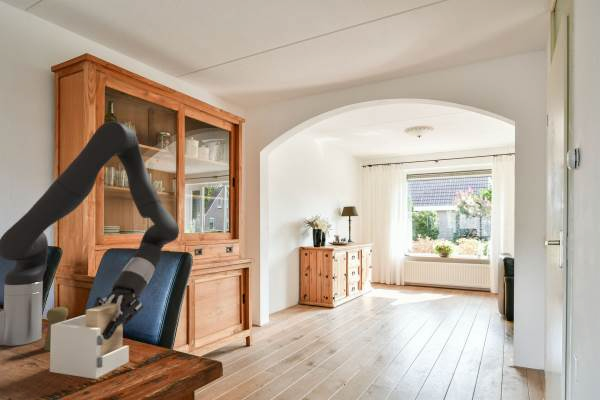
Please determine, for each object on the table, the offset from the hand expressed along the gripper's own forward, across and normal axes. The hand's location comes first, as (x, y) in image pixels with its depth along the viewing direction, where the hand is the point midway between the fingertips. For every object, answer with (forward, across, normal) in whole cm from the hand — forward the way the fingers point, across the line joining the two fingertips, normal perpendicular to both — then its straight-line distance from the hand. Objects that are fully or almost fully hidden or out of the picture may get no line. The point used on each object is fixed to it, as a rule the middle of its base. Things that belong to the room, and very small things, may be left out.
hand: (98, 336), depth 90 cm
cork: (-1, -24, +13) cm, 27 cm away
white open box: (+5, -3, +6) cm, 8 cm away
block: (+2, 0, +5) cm, 6 cm away
